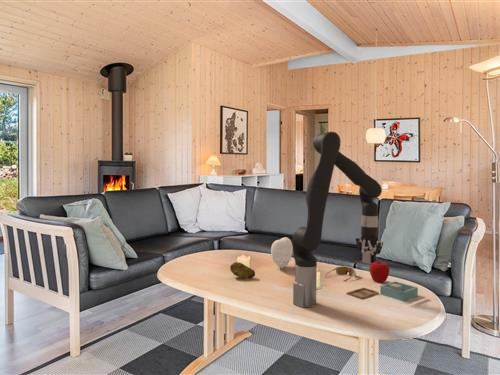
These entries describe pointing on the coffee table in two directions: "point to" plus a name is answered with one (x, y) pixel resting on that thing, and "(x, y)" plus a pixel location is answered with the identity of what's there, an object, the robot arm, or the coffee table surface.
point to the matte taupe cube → (396, 286)
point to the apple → (379, 271)
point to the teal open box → (402, 295)
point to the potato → (242, 270)
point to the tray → (362, 293)
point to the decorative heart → (281, 252)
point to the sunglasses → (344, 271)
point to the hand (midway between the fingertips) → (368, 261)
